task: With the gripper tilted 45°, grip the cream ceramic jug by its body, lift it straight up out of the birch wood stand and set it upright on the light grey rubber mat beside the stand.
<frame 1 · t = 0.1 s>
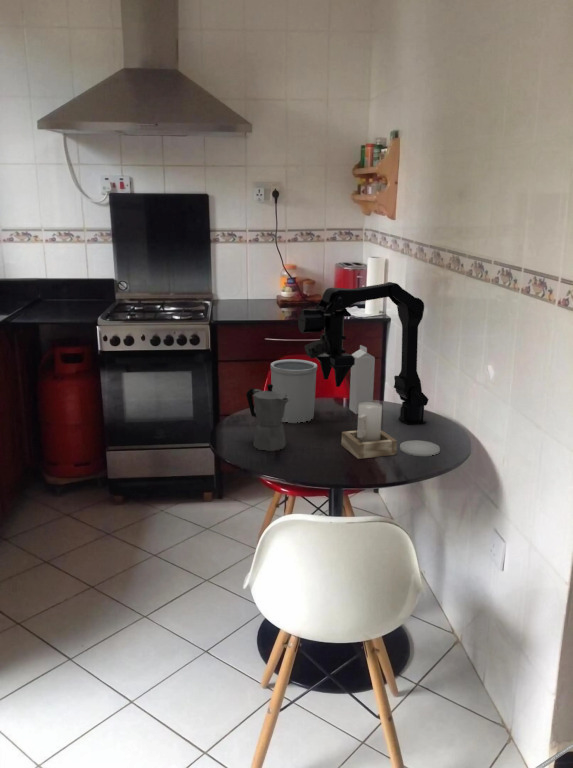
hand: (331, 382, 201), 15 cm above the table, tool pointing down, fingers open, 9 cm apart
mat: (419, 449, 188), on the table
utensil holder: (292, 417, 216), on the table
milk: (360, 411, 224), on the table
stand: (368, 449, 187), on the table
coffeepot: (266, 445, 190), on the table
jug: (366, 429, 184), in the stand
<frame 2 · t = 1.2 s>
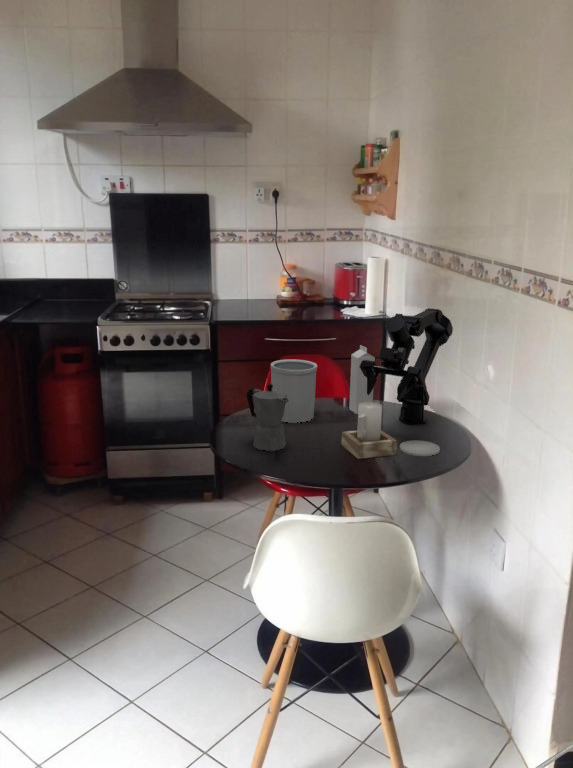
hand: (382, 396, 191), 13 cm above the table, tool tilted 45°, fingers open, 9 cm apart
nothing on the table moved.
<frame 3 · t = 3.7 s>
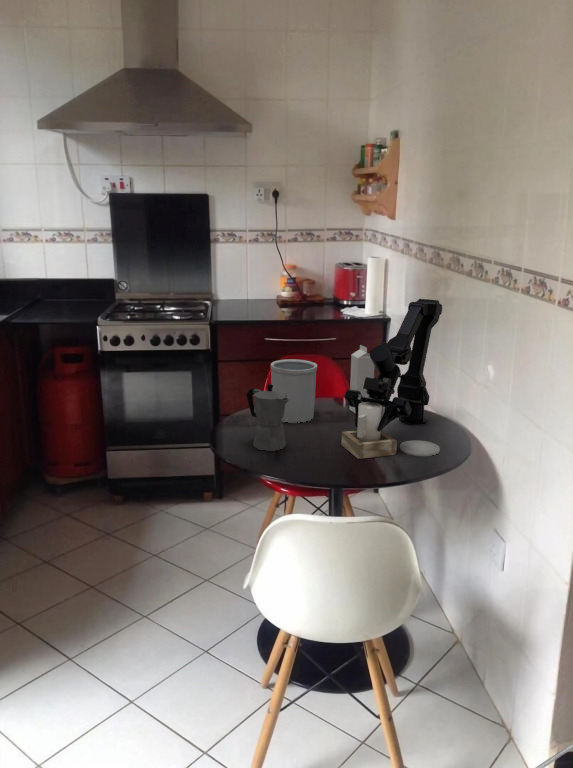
hand: (367, 428, 184), 7 cm above the table, tool tilted 45°, fingers closed on jug, 6 cm apart
jug: (366, 429, 184), in the stand, touching gripper
everything else where it was.
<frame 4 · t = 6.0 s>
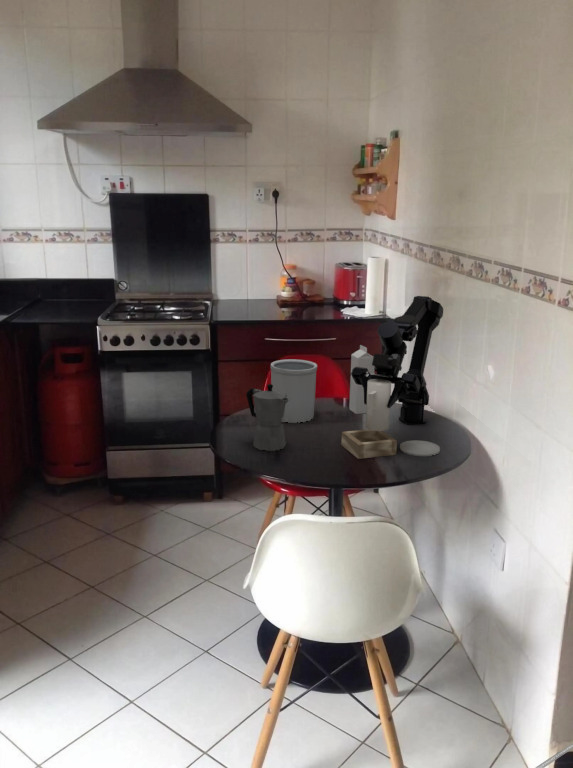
hand: (376, 405, 183), 13 cm above the table, tool tilted 45°, fingers closed on jug, 6 cm apart
jug: (376, 406, 183), point 13 cm above the table, touching gripper
everything else where it was.
when the fingers open (9 cm above the table, at t = 8.2 s): jug drops 1 cm, resting on mat.
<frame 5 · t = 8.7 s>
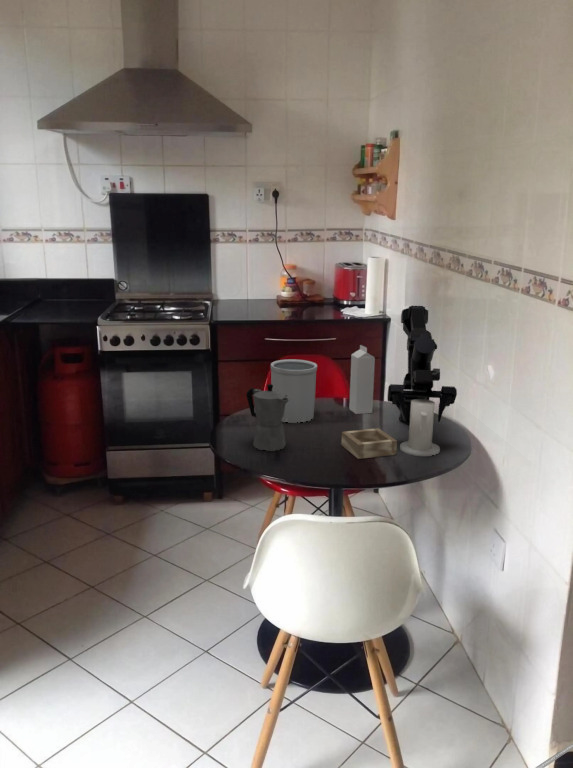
hand: (422, 420, 184), 9 cm above the table, tool tilted 45°, fingers open, 9 cm apart
jug: (421, 426, 185), on the mat, point 7 cm above the table
everything else where it was.
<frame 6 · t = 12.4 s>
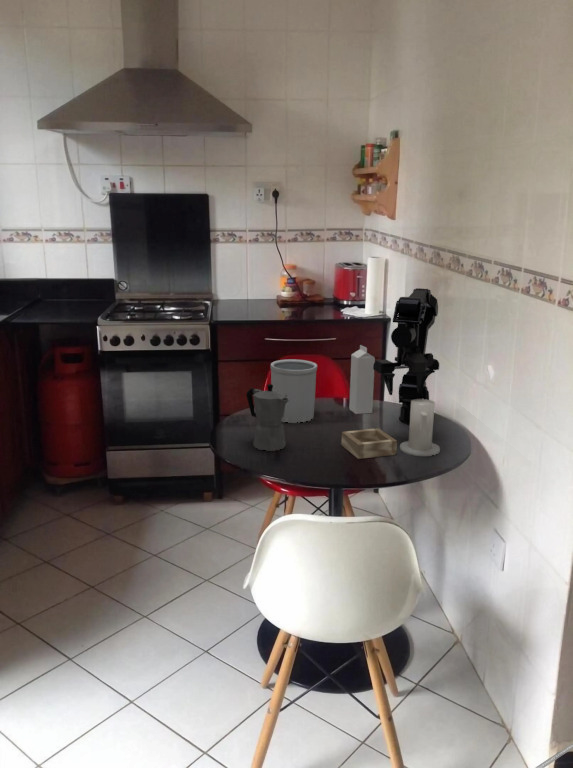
hand: (404, 393, 196), 13 cm above the table, tool pointing down, fingers open, 9 cm apart
nothing on the table moved.
at the end: jug inside the target area on the mat (0.1 cm from its centre), point 7.3 cm above the mat's base; jug tilted 0°; the gripper is holding nothing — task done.
